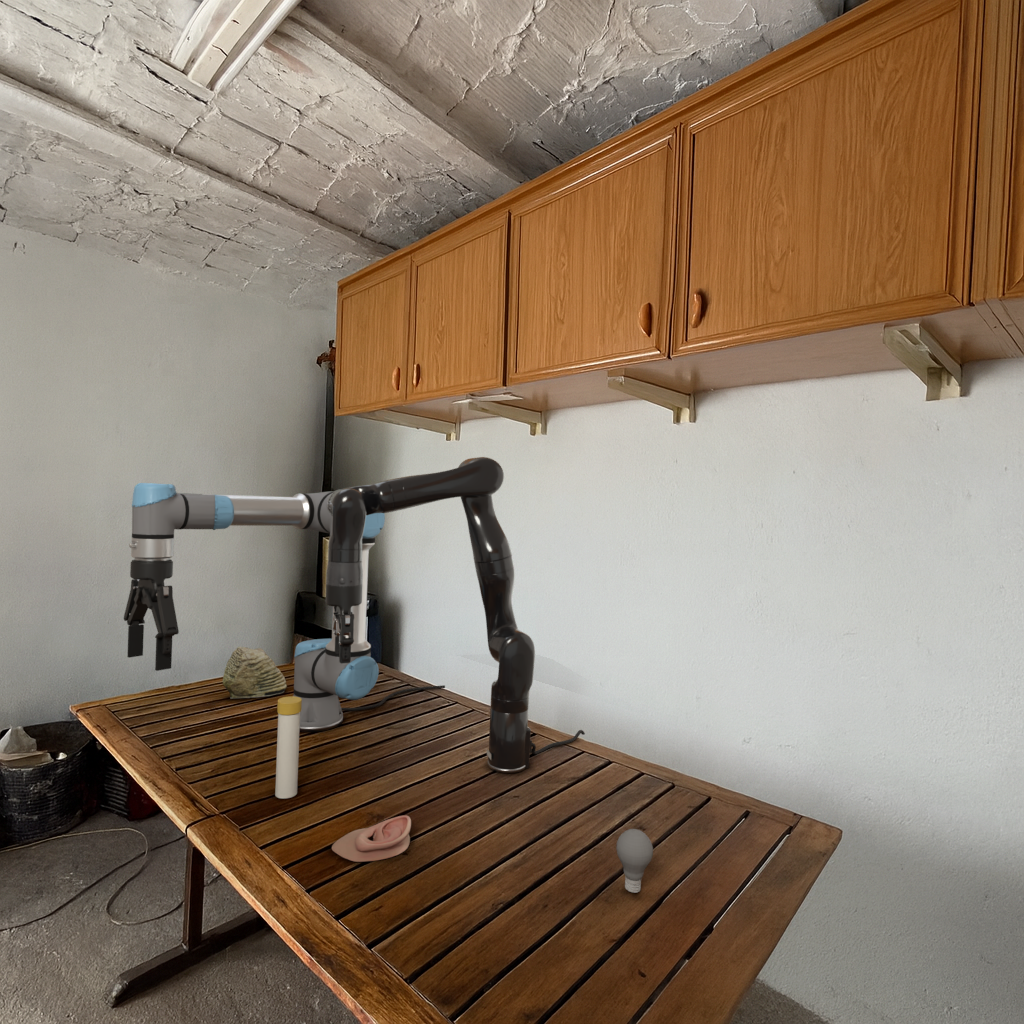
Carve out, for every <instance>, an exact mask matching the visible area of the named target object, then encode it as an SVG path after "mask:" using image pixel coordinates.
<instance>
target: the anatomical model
mask: <svg viewBox="0 0 1024 1024" xmlns="http://www.w3.org/2000/svg"><path fill="white" fill-rule="evenodd" d="M411 828H412V820H411V817H410V816H409V815H406V814H405V815H399V816H395V817H392V818H389V819H386V820H383V821H380V822H378V823H377V824H374V825H372V826H369V827H365V828H364V827H363V828H359V829H355V830H352V831H351V832H348V833H346V834H345V835H343V836H342V837H340V838H338V840H336V841H335V842H334V843H333V844H332V845H331V850H332V852H334V853H335V854H337V855H338V856H340V857H341V858H343V859H345V860H348V861H351V862H354V863H356V862H357V863H361V862H364V863H365V862H374V861H380V860H381V861H382V860H385V859H386V860H387V859H389V858H393V857H395V856H398V855H400V854H403V852H405V851H406V850H407V849H408V848H409V845H410V842H411V837H410V832H411Z"/></svg>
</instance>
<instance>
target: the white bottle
mask: <svg viewBox="0 0 1024 1024" xmlns="http://www.w3.org/2000/svg"><path fill="white" fill-rule="evenodd" d="M299 730H300V712H299V713H297V714H293V715H281V714H279V713H277V734H276V735H277V736H276V737H277V739H276V765H275V790H274V791H275V792H274V796H275V797H276V798H278V799H284V800H285V799H290V798H293V797H295V796H296V795H297V794H298V780H299V779H298V778H299V752H300V731H299Z"/></svg>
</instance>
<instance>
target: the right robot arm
mask: <svg viewBox="0 0 1024 1024" xmlns="http://www.w3.org/2000/svg"><path fill="white" fill-rule="evenodd" d="M504 480H505V474H504V470H503V468H502V466H501V464H500V463H499V462H498V461H496V460H495V459H493V458H491V457H486V456H479V457H470V458H467V459H465V460H463V461H461V463H459V465H458V467H456V468H452V469H447V470H443V471H438V472H431V473H423V474H422V473H421V474H415V475H409V476H400V477H396V478H392V479H385V480H382V481H379V482H374V483H371V484H364V485H355V486H348V487H344V488H338V489H336V490H333V491H334V492H333V493H332V494H331V495H330V497H329V498H328V501H327V508H328V511H329V513H330V514H331V516H332V517H333V524H332V535H331V536H330V535H329V539H328V546H327V564H326V565H327V566H326V573H325V604H326V605H327V606H330V607H333V606H334V612H333V611H332V624H333V630H334V635H335V653H336V654H339V661H340V663H350V661H351V645H352V644H353V642H354V639H353V633H354V614H352V612H351V607H352V606H357V605H360V604H361V603H362V583H363V569H362V537H363V532H364V526H365V520H366V515H370V514H374V513H384V514H388V513H393V512H397V511H403V510H407V509H411V508H414V507H419V506H422V505H427V504H430V503H434V502H439V501H443V500H449V499H454V498H460V500H461V503H462V506H463V510H464V513H465V517H466V523H467V527H468V534H469V539H470V545H471V550H472V557H473V561H474V562H473V563H474V568H475V573H476V577H477V581H478V586H479V591H480V596H481V600H482V604H483V605H482V606H483V609H484V614H485V624H486V636H487V637H486V638H487V646H488V647H487V648H488V651H489V654H490V656H491V657H492V658H493V660H494V661H495V662H497V663H498V672H497V673H498V674H497V679H496V680H494V681H493V682H492V683H491V688H490V707H489V708H490V711H489V732H488V748H486V756H487V767H488V768H489V769H490V770H492V771H494V772H497V773H501V774H515V773H520V772H523V771H525V770H526V769H529V768H530V756H531V754H532V755H535V756H536V755H538V754H541V753H543V752H545V751H547V750H549V749H551V748H554V747H558V746H562V745H568V744H570V743H573V742H575V741H577V739H578V738H579V736H580V735H585V734H586V733H585V731H584V730H582V729H579V730H578V731H577V732H576V733H575V735H574V736H573V737H571V738H569V739H566V740H561V741H556V742H552V743H549V744H547V745H545V746H543V747H541V748H540V749H538V750H536V749H537V745H536V744H535V743H534V742H533V740H532V739H531V735H532V734H531V733H532V731H531V727H529V703H530V690H531V688H532V686H533V682H534V673H535V662H536V645H535V642H534V640H533V639H532V637H531V636H530V635H529V634H527V633H526V632H524V631H521V630H520V629H519V628H518V624H517V620H516V617H515V616H516V615H515V612H514V607H513V606H514V605H513V598H514V597H513V596H514V592H515V591H514V590H515V585H516V568H515V564H514V563H515V562H514V558H513V552H512V548H511V546H510V543H509V542H510V541H509V540H508V537H507V536H506V534H505V532H504V529H503V528H502V526H501V524H500V521H499V520H498V517H497V515H496V511H495V508H494V503H493V496H492V495H494V494H496V493H497V492H498V491H500V489H501V488H502V485H503V484H504ZM344 635H348V636H349V638H346V636H344Z"/></svg>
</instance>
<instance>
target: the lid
mask: <svg viewBox="0 0 1024 1024" xmlns="http://www.w3.org/2000/svg"><path fill="white" fill-rule="evenodd" d="M301 706H302V699H301V698H300V697H294V695H292V696H283V697H280V698H278V699H277V705H276V707H277V708H276V712H277V714H278V713H279V714H281V715H293V714H297V713H299V712H301Z"/></svg>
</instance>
